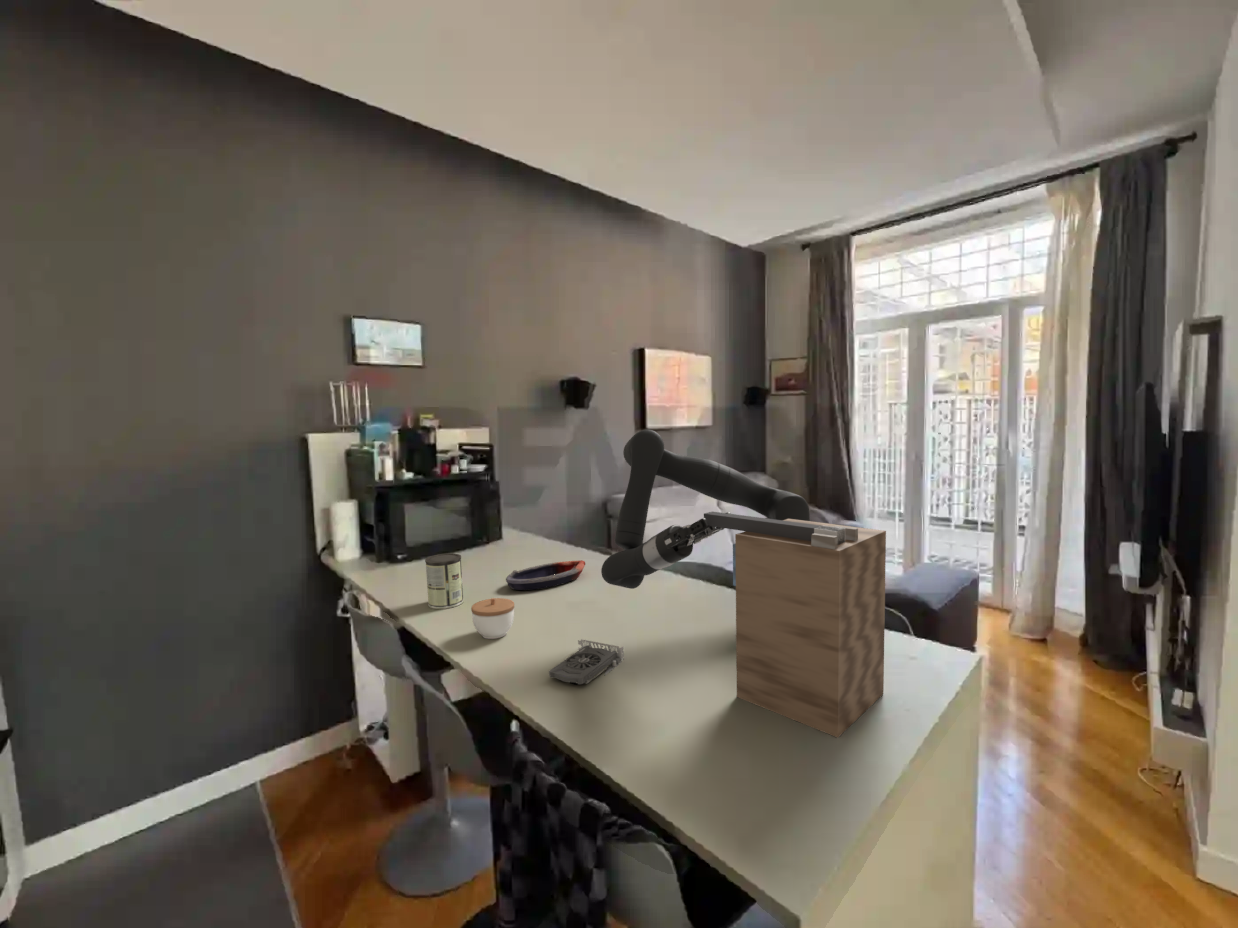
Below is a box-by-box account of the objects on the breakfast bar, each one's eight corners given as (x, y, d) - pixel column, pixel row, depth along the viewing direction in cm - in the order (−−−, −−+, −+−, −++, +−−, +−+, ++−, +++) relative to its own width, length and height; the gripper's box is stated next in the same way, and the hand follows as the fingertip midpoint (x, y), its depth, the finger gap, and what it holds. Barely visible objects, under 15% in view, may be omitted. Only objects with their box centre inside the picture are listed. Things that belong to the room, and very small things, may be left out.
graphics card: (580, 636, 131) (624, 645, 125) (581, 652, 132) (625, 661, 125) (535, 666, 117) (583, 676, 111) (536, 683, 117) (584, 695, 111)
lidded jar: (491, 646, 134) (489, 608, 134) (463, 636, 141) (462, 600, 140) (524, 631, 143) (522, 596, 142) (496, 623, 149) (495, 589, 149)
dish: (496, 586, 183) (495, 571, 182) (574, 568, 202) (573, 555, 201) (519, 598, 171) (518, 582, 170) (599, 577, 190) (598, 563, 189)
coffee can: (436, 597, 172) (434, 553, 171) (468, 597, 171) (466, 553, 170) (421, 609, 162) (418, 561, 161) (455, 609, 161) (453, 562, 160)
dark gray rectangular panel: (713, 522, 116) (712, 511, 116) (845, 541, 96) (845, 528, 96) (703, 525, 114) (703, 513, 114) (836, 545, 94) (836, 531, 94)
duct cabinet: (785, 661, 122) (785, 509, 119) (883, 693, 107) (886, 520, 104) (734, 695, 108) (732, 523, 105) (837, 737, 93) (839, 538, 90)
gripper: (639, 537, 120) (690, 507, 109) (680, 527, 130) (731, 498, 119) (652, 570, 118) (705, 542, 107) (693, 557, 128) (746, 530, 117)
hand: (719, 519), depth 113 cm, fingers open, 8 cm apart
